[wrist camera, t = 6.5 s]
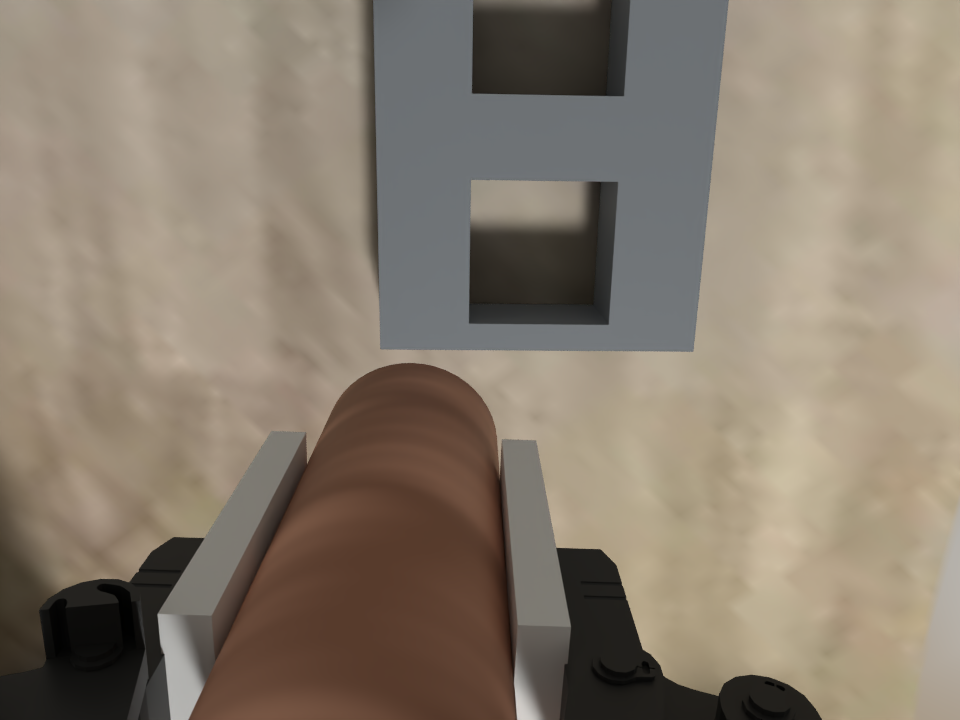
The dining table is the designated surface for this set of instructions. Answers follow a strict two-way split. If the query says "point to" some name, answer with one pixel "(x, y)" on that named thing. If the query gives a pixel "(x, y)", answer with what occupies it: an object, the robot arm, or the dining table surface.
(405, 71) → the socket block
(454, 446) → the peg
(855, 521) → the dining table surface
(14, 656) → the dining table surface
